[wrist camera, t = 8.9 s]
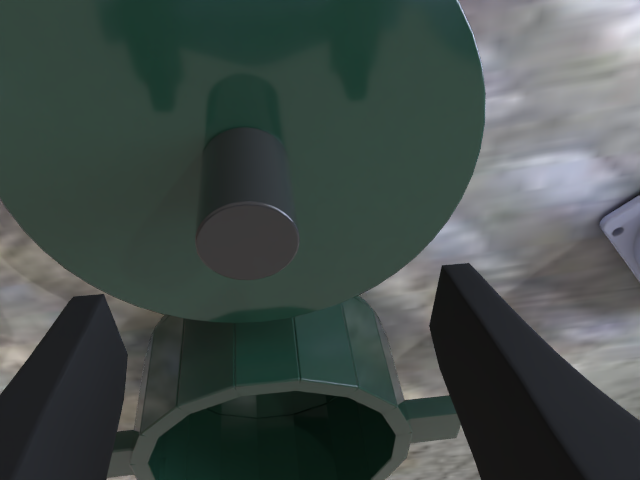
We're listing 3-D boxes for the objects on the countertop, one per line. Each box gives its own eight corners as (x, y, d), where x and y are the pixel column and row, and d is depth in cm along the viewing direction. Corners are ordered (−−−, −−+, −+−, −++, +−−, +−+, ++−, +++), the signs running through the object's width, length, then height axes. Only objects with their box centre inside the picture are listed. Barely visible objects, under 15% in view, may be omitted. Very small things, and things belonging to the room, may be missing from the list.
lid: (436, 286, 22) (474, 382, 19) (74, 317, 21) (42, 428, 17) (528, -142, 12) (643, -108, 9) (-136, -136, 11) (-305, -94, 8)
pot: (416, 402, 34) (444, 496, 29) (126, 433, 32) (109, 538, 28) (450, 257, 25) (495, 359, 21) (59, 289, 24) (19, 408, 19)
